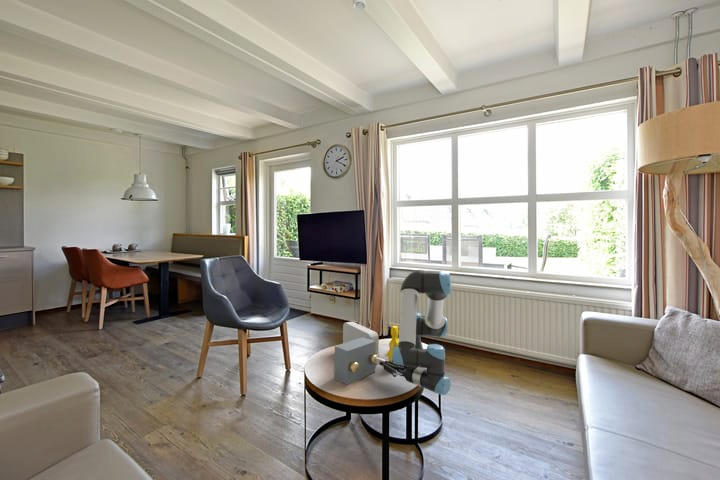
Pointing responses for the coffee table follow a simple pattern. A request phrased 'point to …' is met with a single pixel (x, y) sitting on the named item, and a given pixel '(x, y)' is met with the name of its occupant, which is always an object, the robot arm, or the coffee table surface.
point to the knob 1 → (354, 367)
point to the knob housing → (354, 359)
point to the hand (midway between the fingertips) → (376, 360)
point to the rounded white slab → (359, 333)
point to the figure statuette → (393, 342)
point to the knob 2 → (373, 358)
